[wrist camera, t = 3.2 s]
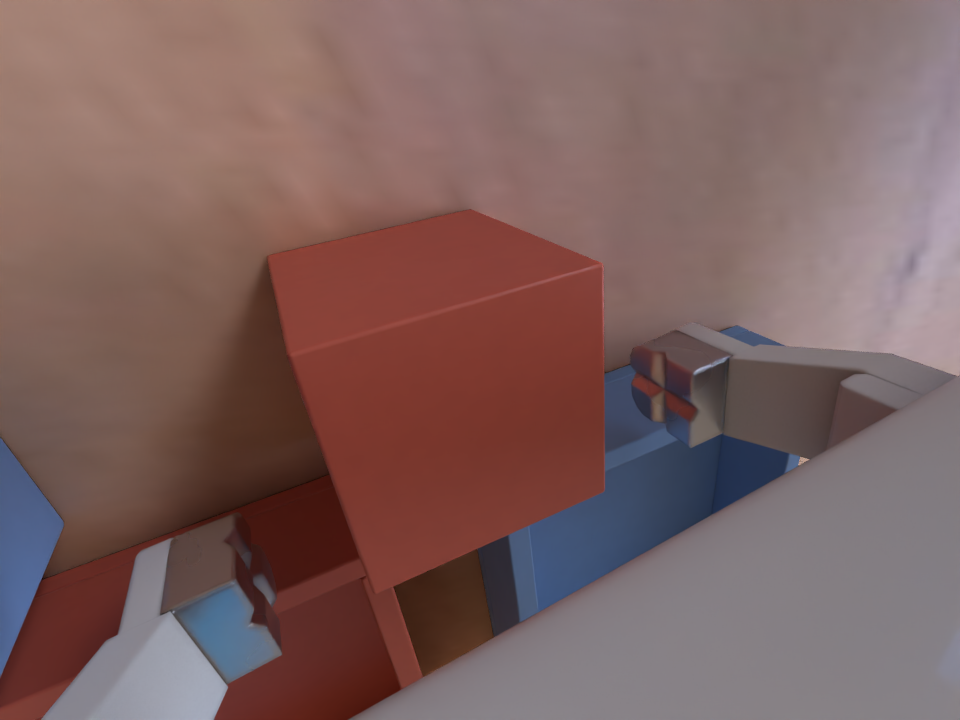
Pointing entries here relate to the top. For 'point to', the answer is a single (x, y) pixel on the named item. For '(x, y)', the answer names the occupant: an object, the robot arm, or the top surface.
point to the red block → (447, 382)
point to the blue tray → (624, 504)
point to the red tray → (299, 607)
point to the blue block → (21, 546)
